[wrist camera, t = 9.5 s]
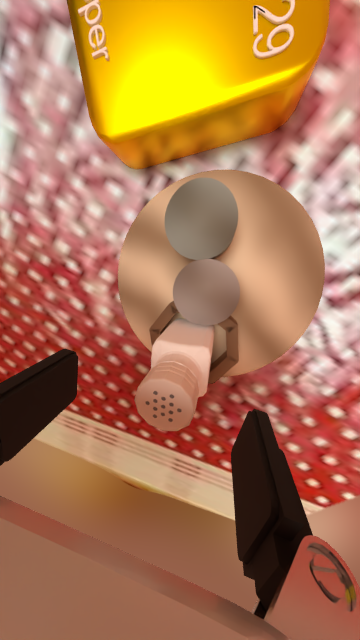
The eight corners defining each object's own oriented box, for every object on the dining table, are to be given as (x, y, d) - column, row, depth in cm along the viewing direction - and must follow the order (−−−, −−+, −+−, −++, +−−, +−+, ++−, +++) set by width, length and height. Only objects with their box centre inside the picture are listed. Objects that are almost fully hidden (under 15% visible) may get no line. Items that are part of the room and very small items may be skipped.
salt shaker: (215, 321, 17) (206, 380, 8) (211, 359, 18) (199, 446, 9) (174, 316, 18) (125, 364, 9) (172, 352, 19) (127, 428, 10)
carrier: (216, 395, 22) (214, 430, 17) (100, 296, 21) (66, 304, 17) (364, 273, 15) (426, 276, 11) (199, 131, 15) (188, 70, 10)
